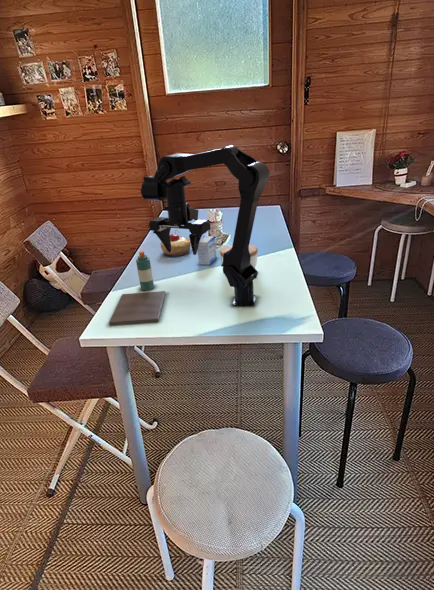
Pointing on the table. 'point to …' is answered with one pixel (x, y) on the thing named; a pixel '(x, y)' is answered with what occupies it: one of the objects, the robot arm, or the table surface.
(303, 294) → the table surface
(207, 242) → the medicine box
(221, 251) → the lidded bowl
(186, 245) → the pastry
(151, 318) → the desk board
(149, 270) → the glue bottle
